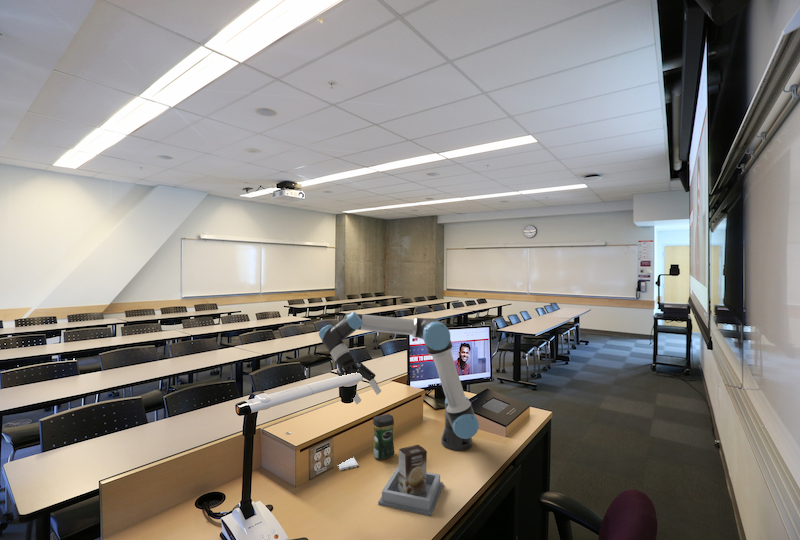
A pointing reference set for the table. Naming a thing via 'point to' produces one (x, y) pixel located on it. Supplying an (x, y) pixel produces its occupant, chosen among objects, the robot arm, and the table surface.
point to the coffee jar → (383, 436)
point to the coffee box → (412, 470)
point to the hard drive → (348, 464)
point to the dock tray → (410, 502)
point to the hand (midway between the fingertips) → (369, 397)
